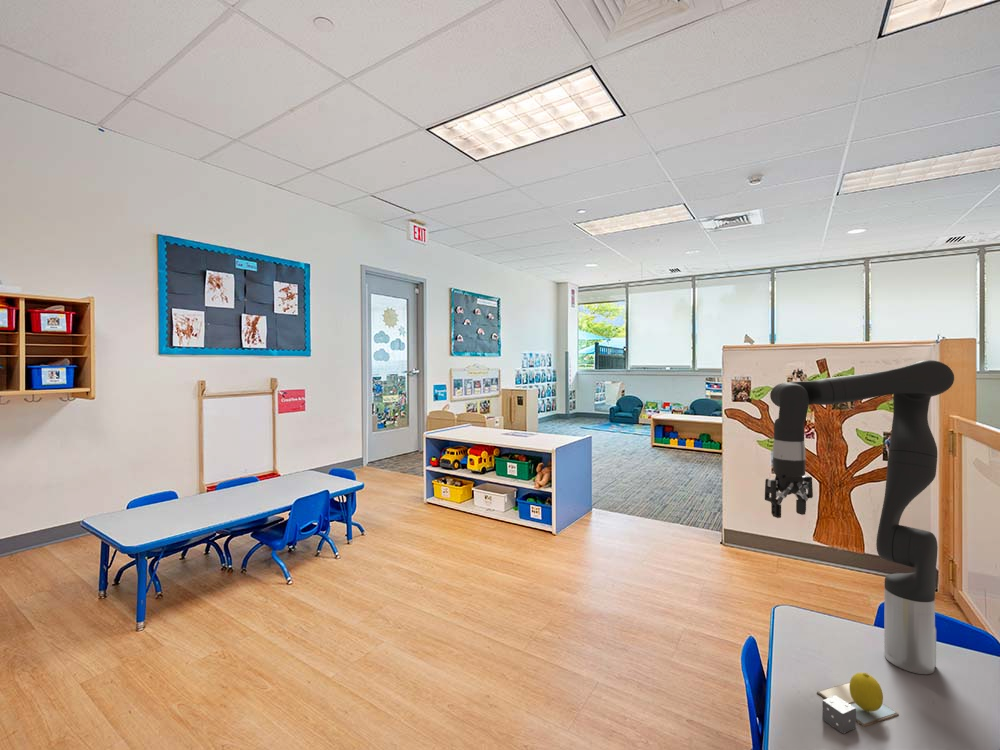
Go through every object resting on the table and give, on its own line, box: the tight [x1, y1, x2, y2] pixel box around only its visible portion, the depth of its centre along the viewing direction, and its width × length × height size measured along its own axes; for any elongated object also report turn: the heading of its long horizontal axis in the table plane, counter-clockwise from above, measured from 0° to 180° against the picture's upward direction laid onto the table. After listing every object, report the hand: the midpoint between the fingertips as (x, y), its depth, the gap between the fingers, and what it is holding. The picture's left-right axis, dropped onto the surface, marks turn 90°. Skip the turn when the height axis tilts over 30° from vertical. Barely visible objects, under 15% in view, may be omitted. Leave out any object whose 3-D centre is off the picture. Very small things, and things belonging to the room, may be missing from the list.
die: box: [821, 695, 857, 734], centre depth 94 cm, size 4×4×4 cm
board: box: [816, 681, 899, 727], centre depth 99 cm, size 10×10×1 cm
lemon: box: [849, 672, 884, 712], centre depth 97 cm, size 6×6×8 cm
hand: (788, 515), depth 125 cm, fingers open, 8 cm apart
